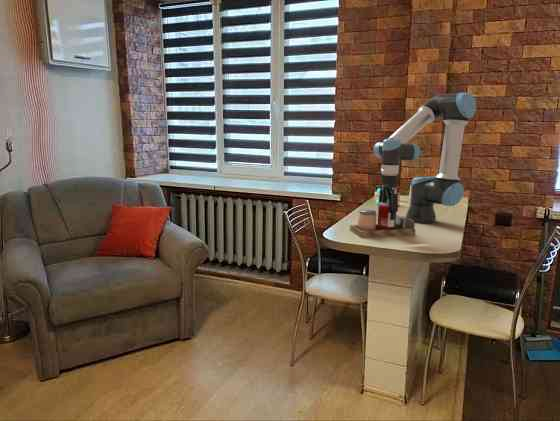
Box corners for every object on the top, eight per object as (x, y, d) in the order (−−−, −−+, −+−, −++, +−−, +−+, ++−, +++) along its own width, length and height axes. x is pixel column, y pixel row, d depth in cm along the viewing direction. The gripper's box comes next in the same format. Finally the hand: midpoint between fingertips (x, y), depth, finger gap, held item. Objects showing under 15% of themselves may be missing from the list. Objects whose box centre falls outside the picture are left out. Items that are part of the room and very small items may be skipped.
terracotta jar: (371, 230, 200) (372, 209, 198) (378, 234, 192) (379, 212, 190) (354, 231, 198) (355, 209, 196) (361, 235, 190) (362, 212, 189)
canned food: (398, 228, 194) (400, 204, 192) (382, 229, 192) (383, 205, 190) (389, 224, 201) (391, 201, 199) (374, 225, 199) (375, 202, 197)
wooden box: (401, 230, 205) (402, 216, 204) (414, 237, 194) (415, 221, 192) (349, 232, 200) (350, 217, 199) (360, 239, 188) (360, 223, 187)
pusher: (400, 228, 204) (401, 214, 202) (410, 233, 194) (411, 218, 193) (392, 228, 203) (393, 214, 201) (402, 233, 193) (403, 218, 192)
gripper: (372, 172, 201) (369, 220, 205) (392, 177, 181) (388, 230, 186) (387, 171, 203) (384, 219, 207) (408, 176, 183) (405, 229, 187)
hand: (386, 224), depth 196 cm, fingers closed on canned food, 8 cm apart
